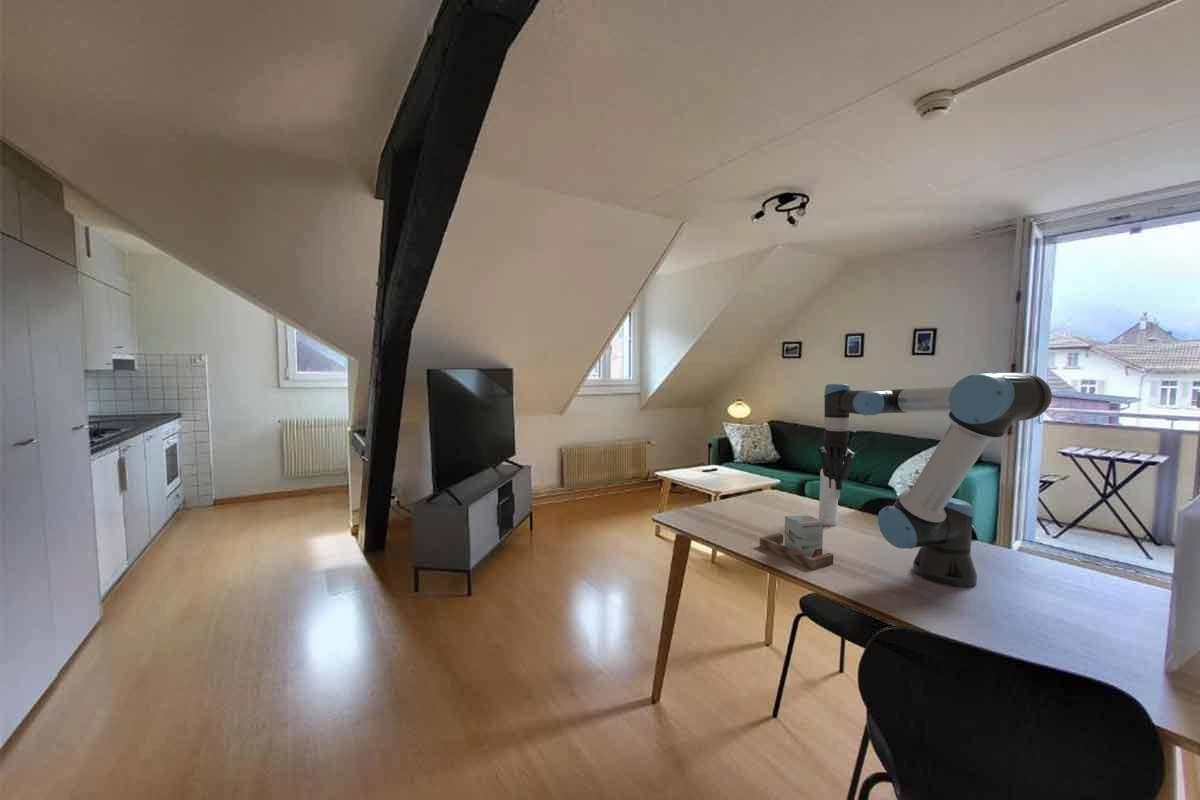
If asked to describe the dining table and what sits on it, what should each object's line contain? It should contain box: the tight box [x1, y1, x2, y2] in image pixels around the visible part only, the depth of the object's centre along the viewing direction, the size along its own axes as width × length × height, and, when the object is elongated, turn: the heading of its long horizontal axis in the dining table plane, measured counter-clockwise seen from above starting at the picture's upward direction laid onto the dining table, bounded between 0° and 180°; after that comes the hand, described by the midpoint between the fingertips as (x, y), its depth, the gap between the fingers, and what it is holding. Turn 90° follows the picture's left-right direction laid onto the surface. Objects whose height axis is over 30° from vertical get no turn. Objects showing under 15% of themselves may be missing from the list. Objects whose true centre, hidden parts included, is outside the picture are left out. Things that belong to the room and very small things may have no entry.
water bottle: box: [818, 461, 844, 527], centre depth 183 cm, size 9×6×25 cm
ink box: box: [784, 513, 824, 558], centre depth 156 cm, size 9×9×12 cm
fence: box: [759, 532, 835, 571], centre depth 155 cm, size 21×10×3 cm, turn 27°
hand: (835, 498), depth 162 cm, fingers closed
